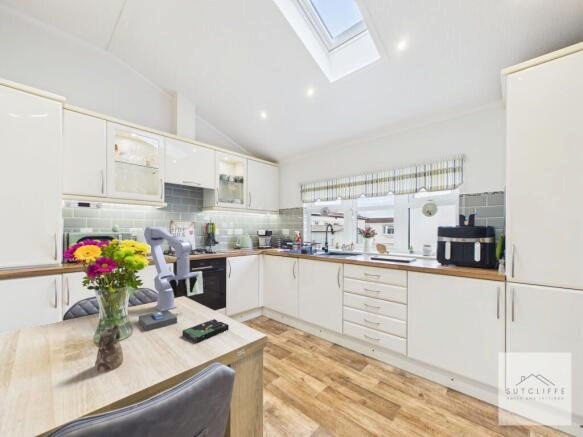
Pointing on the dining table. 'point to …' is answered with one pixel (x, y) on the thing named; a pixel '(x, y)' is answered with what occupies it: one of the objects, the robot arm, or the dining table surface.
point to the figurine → (109, 351)
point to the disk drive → (204, 330)
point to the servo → (157, 316)
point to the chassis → (152, 324)
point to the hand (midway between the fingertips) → (183, 293)
